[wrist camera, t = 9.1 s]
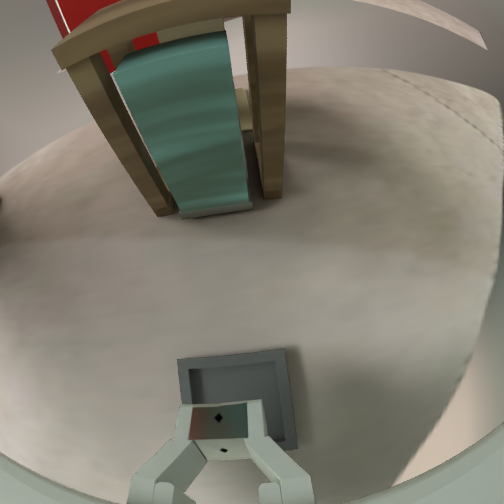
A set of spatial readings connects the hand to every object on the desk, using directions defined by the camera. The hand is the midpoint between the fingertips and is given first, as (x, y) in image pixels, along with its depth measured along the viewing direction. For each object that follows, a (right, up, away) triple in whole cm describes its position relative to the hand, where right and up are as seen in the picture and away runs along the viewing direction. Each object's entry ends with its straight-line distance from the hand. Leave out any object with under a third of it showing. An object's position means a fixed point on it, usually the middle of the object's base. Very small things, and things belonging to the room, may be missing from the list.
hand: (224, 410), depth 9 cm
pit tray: (0, -3, +5) cm, 6 cm away
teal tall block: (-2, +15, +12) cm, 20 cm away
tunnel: (-2, +12, +11) cm, 16 cm away
